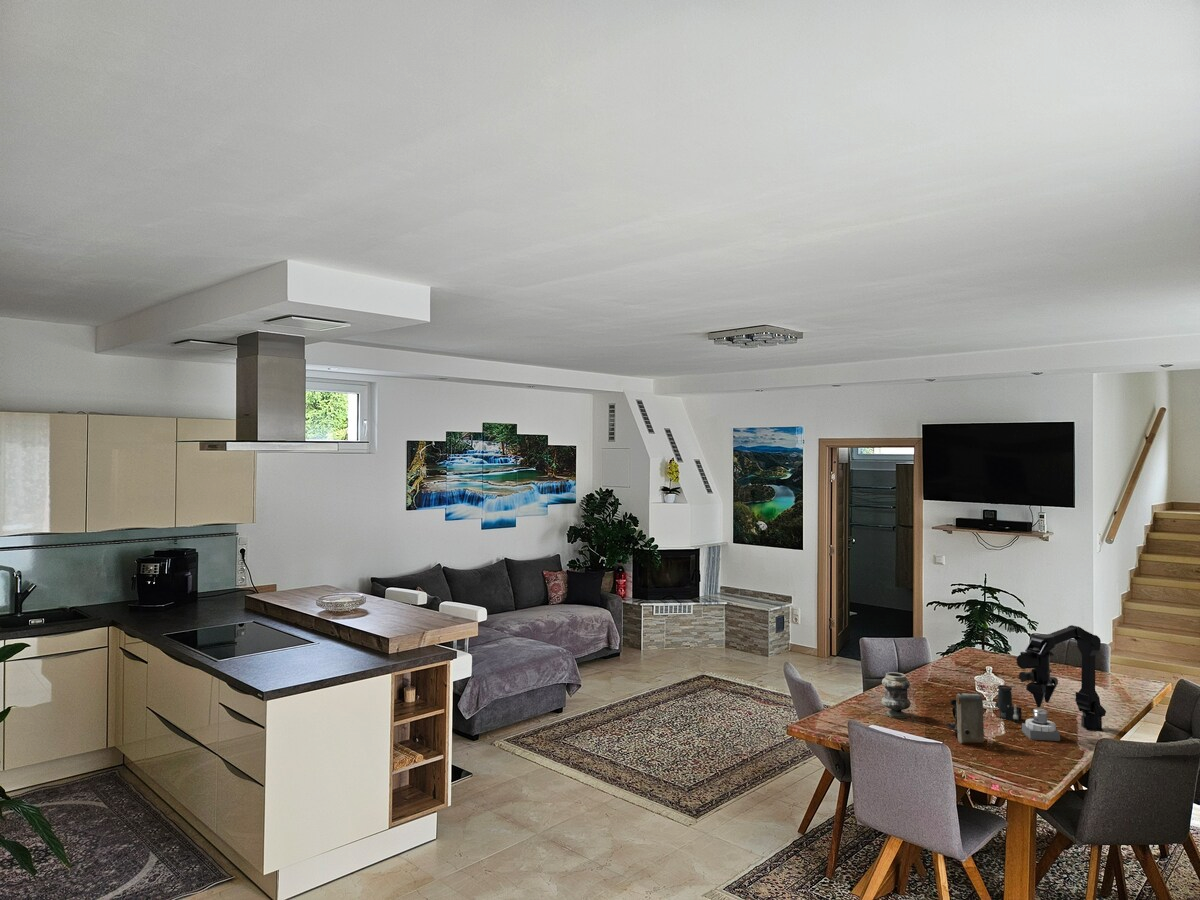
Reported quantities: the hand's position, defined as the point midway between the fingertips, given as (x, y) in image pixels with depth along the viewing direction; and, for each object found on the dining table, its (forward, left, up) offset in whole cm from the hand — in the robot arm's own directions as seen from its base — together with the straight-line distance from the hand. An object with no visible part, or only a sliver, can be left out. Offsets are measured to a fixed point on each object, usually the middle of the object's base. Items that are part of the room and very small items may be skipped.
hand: (1042, 704), depth 325 cm
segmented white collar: (+2, +3, -12) cm, 12 cm away
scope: (+8, -19, -12) cm, 24 cm away
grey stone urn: (+55, -16, -12) cm, 58 cm away
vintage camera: (+34, +11, -12) cm, 38 cm away
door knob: (+2, +3, -9) cm, 9 cm away
